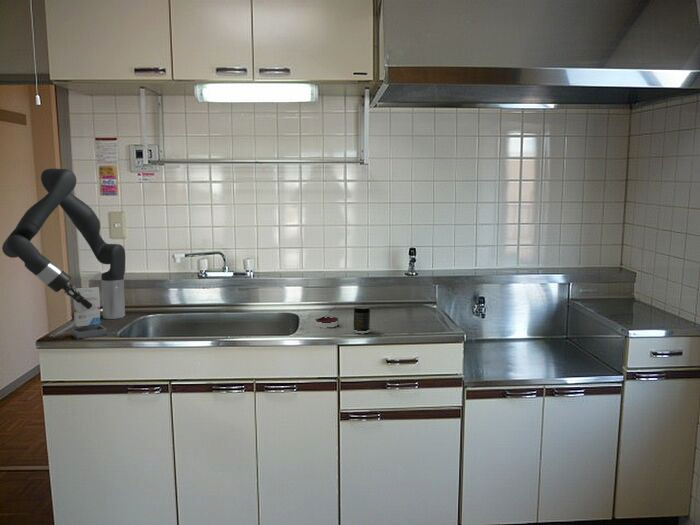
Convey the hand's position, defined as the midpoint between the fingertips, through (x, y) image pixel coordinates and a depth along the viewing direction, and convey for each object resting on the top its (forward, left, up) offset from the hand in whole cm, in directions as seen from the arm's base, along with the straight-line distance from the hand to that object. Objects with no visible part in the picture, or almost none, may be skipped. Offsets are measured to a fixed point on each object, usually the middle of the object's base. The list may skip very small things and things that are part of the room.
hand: (89, 305), depth 206 cm
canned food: (+44, +82, -12) cm, 94 cm away
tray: (0, -1, -11) cm, 11 cm away
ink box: (0, -1, -7) cm, 7 cm away
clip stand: (-9, 0, -11) cm, 15 cm away
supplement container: (+63, +85, -12) cm, 107 cm away
